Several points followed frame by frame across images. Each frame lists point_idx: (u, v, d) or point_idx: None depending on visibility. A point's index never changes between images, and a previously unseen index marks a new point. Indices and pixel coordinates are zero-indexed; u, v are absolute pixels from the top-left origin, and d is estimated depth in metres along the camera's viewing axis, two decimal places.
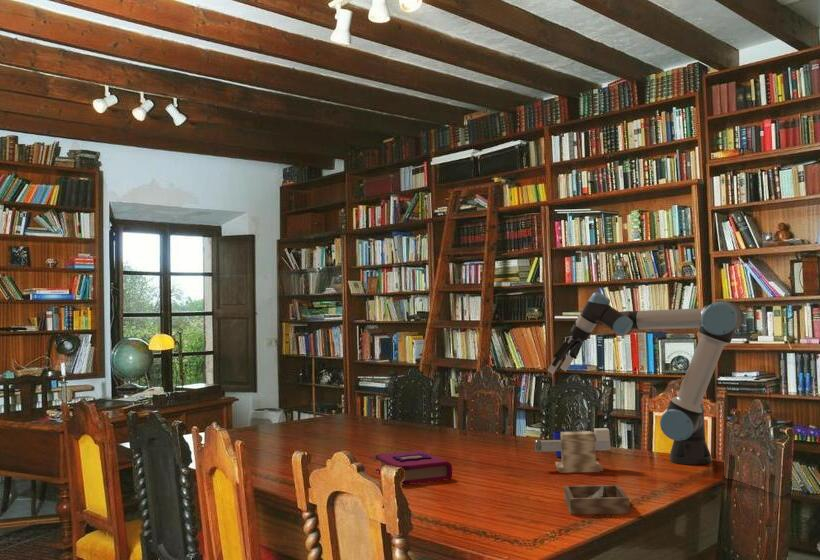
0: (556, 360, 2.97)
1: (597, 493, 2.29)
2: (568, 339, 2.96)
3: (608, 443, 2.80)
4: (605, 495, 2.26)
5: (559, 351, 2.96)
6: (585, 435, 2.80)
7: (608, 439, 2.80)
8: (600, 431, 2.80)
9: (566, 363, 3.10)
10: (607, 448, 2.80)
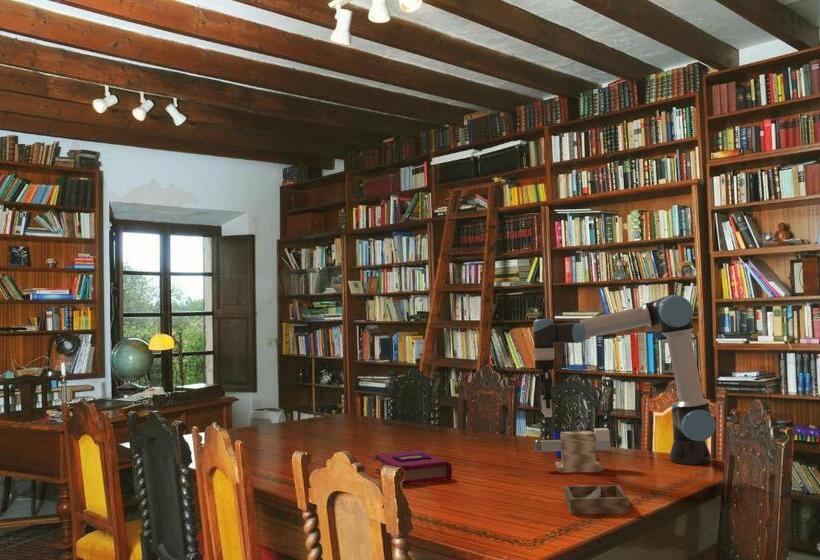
0: (548, 401, 2.77)
1: (594, 493, 2.29)
2: (545, 375, 2.79)
3: (608, 443, 2.80)
4: (602, 495, 2.27)
5: (546, 390, 2.77)
6: (585, 435, 2.80)
7: (608, 439, 2.80)
8: (600, 431, 2.80)
9: None
10: (607, 448, 2.80)
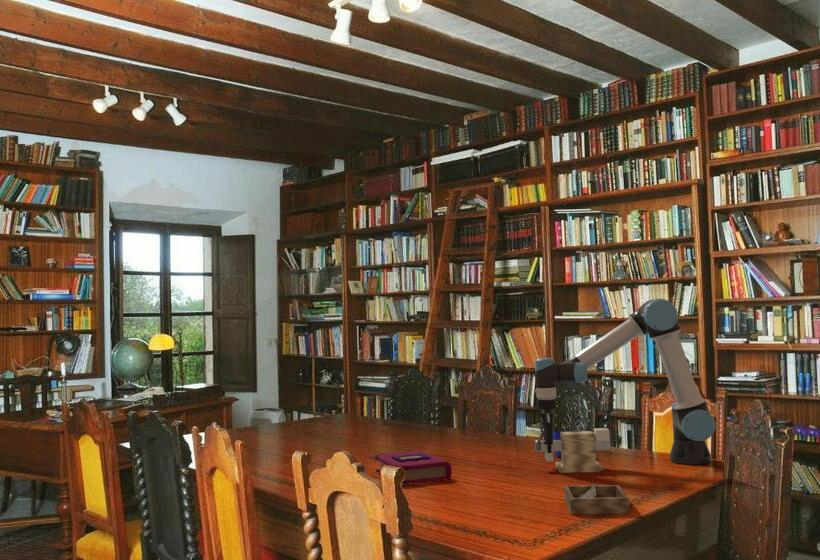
0: (549, 445, 2.81)
1: (589, 492, 2.30)
2: (547, 420, 2.79)
3: (608, 443, 2.80)
4: (597, 494, 2.28)
5: (547, 436, 2.79)
6: (585, 435, 2.80)
7: (608, 439, 2.80)
8: (600, 431, 2.80)
9: None
10: (607, 448, 2.80)
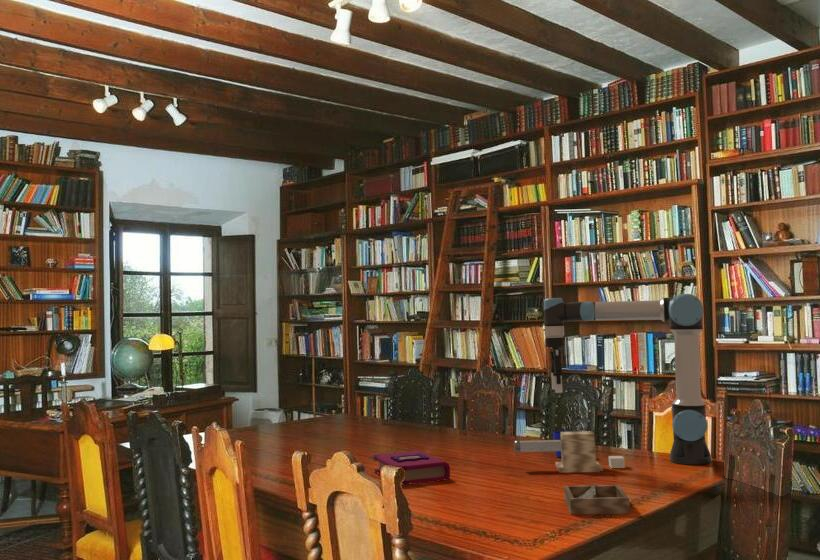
0: (559, 377, 2.85)
1: (589, 492, 2.31)
2: (555, 352, 2.87)
3: None
4: (597, 493, 2.28)
5: (557, 367, 2.84)
6: (585, 435, 2.80)
7: (612, 459, 2.80)
8: (620, 467, 2.80)
9: (554, 381, 2.99)
10: None
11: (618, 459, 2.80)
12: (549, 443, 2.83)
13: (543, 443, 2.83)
